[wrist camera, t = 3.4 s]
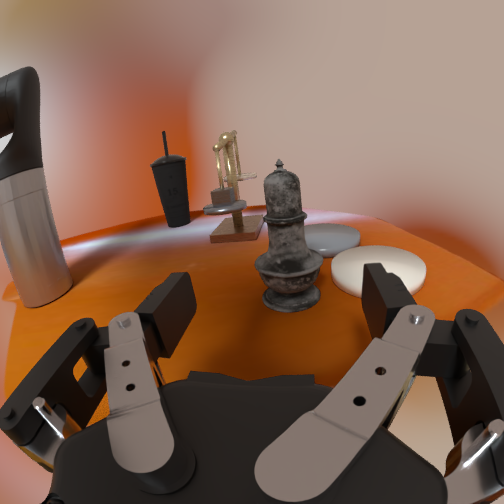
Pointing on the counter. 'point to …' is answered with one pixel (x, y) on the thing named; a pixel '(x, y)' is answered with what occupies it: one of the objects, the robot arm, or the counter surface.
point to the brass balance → (231, 197)
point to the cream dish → (393, 260)
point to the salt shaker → (287, 247)
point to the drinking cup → (172, 187)
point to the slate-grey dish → (331, 238)
